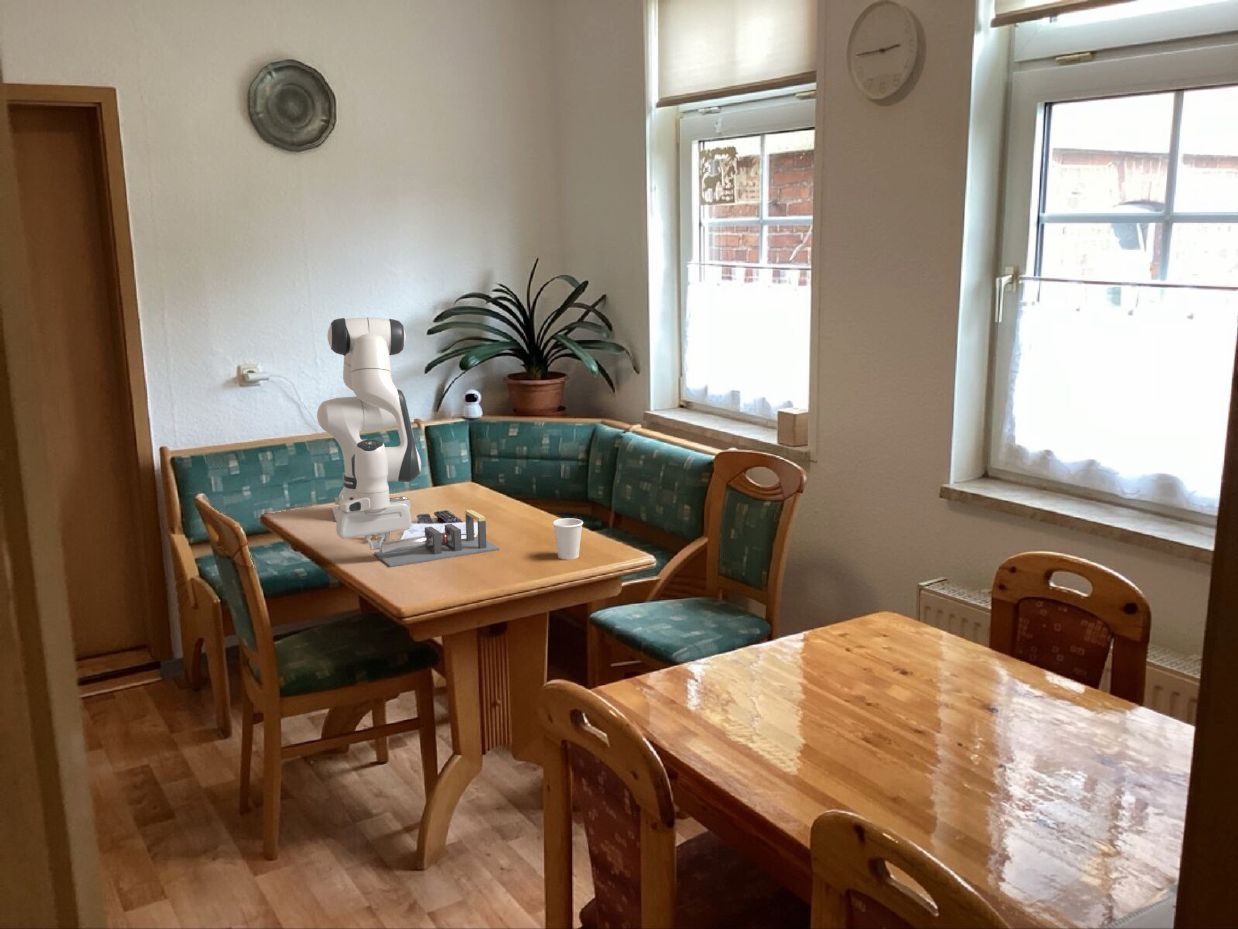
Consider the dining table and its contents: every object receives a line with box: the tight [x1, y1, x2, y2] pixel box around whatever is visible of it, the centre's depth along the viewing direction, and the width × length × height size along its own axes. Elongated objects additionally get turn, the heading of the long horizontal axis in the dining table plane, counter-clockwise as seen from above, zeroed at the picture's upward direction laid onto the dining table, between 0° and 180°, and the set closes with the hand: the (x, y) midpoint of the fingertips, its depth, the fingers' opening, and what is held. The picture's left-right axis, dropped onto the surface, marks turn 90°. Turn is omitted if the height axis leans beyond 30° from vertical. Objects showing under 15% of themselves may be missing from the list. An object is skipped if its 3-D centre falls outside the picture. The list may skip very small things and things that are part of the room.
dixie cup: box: [552, 517, 584, 561], centre depth 297 cm, size 8×8×10 cm
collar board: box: [373, 509, 500, 568], centre depth 302 cm, size 14×32×10 cm, turn 120°
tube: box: [379, 531, 452, 554], centre depth 299 cm, size 4×20×4 cm, turn 120°
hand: (375, 549), depth 294 cm, fingers closed
